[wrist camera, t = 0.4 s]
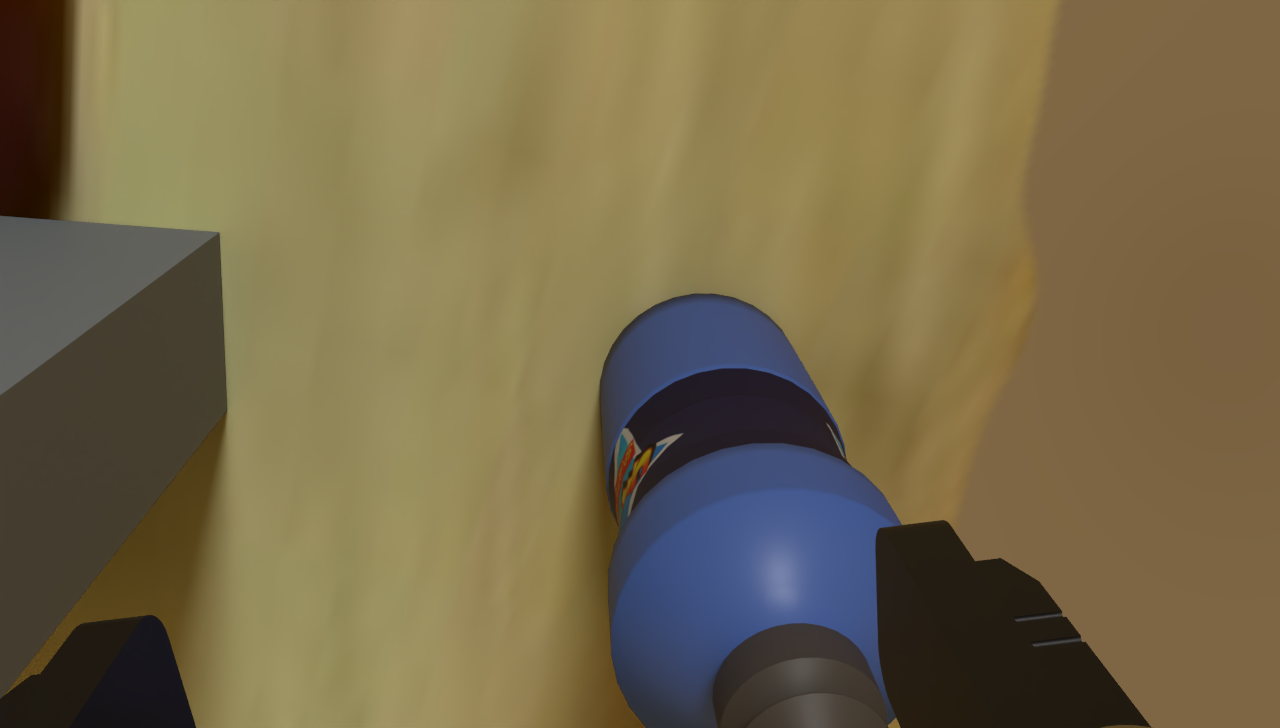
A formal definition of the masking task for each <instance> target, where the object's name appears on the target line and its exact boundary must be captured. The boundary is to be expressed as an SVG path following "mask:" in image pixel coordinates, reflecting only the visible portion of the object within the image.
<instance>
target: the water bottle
mask: <svg viewBox="0 0 1280 728" xmlns="http://www.w3.org/2000/svg"><path fill="white" fill-rule="evenodd" d="M600 405H601V421H602V436H603V452H604V464H605V476H606V488H607V494H608V498H609V503H610V508H611V511H612V514H613V516H614V518H615V520H616V522H617V525H618V527H619V532H618V537H617V540H616V542H615V544H614V548H613V552H612V556H611V561H610V565H609V569H608V603H609V620H610V638H611V655H612V660H613V665H614V669H615V673H616V678H617V682H618V684H619V686H620V689H621V691H622V693H623V695H624V697H625V699H626V701H627V703H628V705H629V707H630V708H631V709H632V711H633V712H634V713H635V714H636V716H637V717H638V718H639V719H640V721H641V722H642V723H643V724H644V726H645V727H646V728H888V726H887V725H888V724H890V723H891V722H892V721H893V720H894V719H895V718H896V716H895V713H894V711H893V709H892V706H891V704H890V701H889V699H888V696H887V693H886V689H885V685H884V681H883V677H882V672H881V666H880V659H879V651H878V627H877V591H876V555H875V542H876V534H877V531H878V529H879V528H883V527H891V526H899V525H902V524H901V522H900V521H899V519H898V517H897V516H896V514H895V512H894V511H893V509H892V508H891V506H890V504H889V503H888V501H887V500H886V498H885V496H884V495H883V493H882V492H881V491H880V490H879V489H878V488H877V487H876V486H875V485H874V484H873V483H872V482H871V481H870V480H869V479H868V478H867V477H866V476H865V475H864V474H862V473H861V472H859V471H858V470H856V469H855V468H853V467H852V466H851V465H850V464H849V463H848V462H847V459H846V454H845V446H844V443H843V440H842V437H841V434H840V431H839V428H838V426H837V424H836V422H835V420H834V418H833V416H832V415H831V413H830V411H829V409H828V408H827V406H826V404H825V402H824V400H823V399H822V397H821V395H820V393H819V392H818V390H817V388H816V386H815V385H814V383H813V381H812V380H811V378H810V376H809V374H808V373H807V371H806V369H805V368H804V366H803V364H802V362H801V361H800V359H799V357H798V356H797V354H796V352H795V350H794V349H793V347H792V345H791V344H790V342H789V340H788V339H787V337H786V336H785V334H784V333H783V331H782V329H781V328H780V327H779V326H778V325H777V324H776V323H775V322H774V321H773V320H772V319H771V318H770V317H769V316H768V315H766V314H765V313H763V312H762V311H760V310H759V309H757V308H756V307H754V306H753V305H751V304H749V303H746V302H744V301H741V300H739V299H736V298H734V297H728V296H723V295H718V294H690V295H685V296H680V297H674V298H672V299H669V300H667V301H664V302H662V303H659V304H656V305H654V306H653V307H651V308H650V309H648V310H646V311H645V312H643V313H642V314H640V315H638V316H637V317H636V318H635V319H634V320H633V321H632V322H631V323H630V324H629V325H628V326H627V327H626V328H624V329H623V331H622V332H621V334H620V335H619V336H618V338H617V339H616V341H615V342H614V343H613V345H612V347H611V349H610V351H609V353H608V356H607V358H606V360H605V362H604V366H603V371H602V375H601V380H600Z"/></svg>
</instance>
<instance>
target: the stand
mask: <svg viewBox="0 0 1280 728" xmlns="http://www.w3.org/2000/svg"><path fill="white" fill-rule="evenodd" d="M226 411H227V398H226V376H225V353H224V330H223V307H222V285H221V262H220V239H219V232H207V231H193V230H180V229H167V228H153V227H140V226H126V225H113V224H100V223H86V222H73V221H60V220H46V219H33V218H19V217H6V216H0V699H1V698H2V697H3V696H4V695H5V693H6V692H7V691H8V689H9V688H10V687H11V686H12V684H13V683H14V682H15V681H16V679H17V678H18V677H19V675H20V674H21V673H22V672H23V670H24V669H25V668H26V667H27V665H28V664H29V663H30V661H31V660H32V659H33V658H34V656H35V655H36V654H37V652H38V651H39V650H40V649H41V647H42V646H43V645H44V644H45V642H46V641H47V640H48V638H49V637H50V636H51V635H52V633H53V632H54V631H55V629H56V628H57V627H58V626H59V624H60V623H61V622H62V621H63V619H64V618H65V617H66V615H67V614H68V613H69V612H70V610H71V609H72V608H73V606H74V605H75V604H76V603H77V601H78V600H79V599H80V598H81V596H82V595H83V594H84V592H85V591H86V590H87V589H88V587H89V586H90V585H91V584H92V582H93V581H94V580H95V578H96V577H97V576H98V575H99V573H100V572H101V571H102V569H103V568H104V567H105V566H106V564H107V563H108V562H109V561H110V559H111V558H112V557H113V555H114V554H115V553H116V552H117V550H118V549H119V548H120V546H121V545H122V544H123V543H124V541H125V540H126V539H127V538H128V536H129V535H130V534H131V532H132V531H133V530H134V529H135V527H136V526H137V525H138V524H139V522H140V521H141V520H142V518H143V517H144V516H145V515H146V513H147V512H148V511H149V509H150V508H151V507H152V506H153V504H154V503H155V502H156V501H157V499H158V498H159V497H160V495H161V494H162V493H163V492H164V490H165V489H166V488H167V486H168V485H169V484H170V483H171V481H172V480H173V479H174V478H175V476H176V475H177V474H178V472H179V471H180V470H181V469H182V467H183V466H184V465H185V464H186V462H187V461H188V460H189V458H190V457H191V456H192V455H193V453H194V452H195V451H196V449H197V448H198V447H199V446H200V444H201V443H202V442H203V441H204V439H205V438H206V437H207V435H208V434H209V433H210V432H211V430H212V429H213V428H214V426H215V425H216V424H217V423H218V421H219V420H220V419H221V418H222V416H223V415H224V414H225V412H226Z"/></svg>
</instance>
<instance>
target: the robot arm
mask: <svg viewBox="0 0 1280 728" xmlns="http://www.w3.org/2000/svg"><path fill="white" fill-rule="evenodd" d="M875 555H876V591H877V627H878V651H879V659H880V666H881V672H882V677H883V681H884V685H885V689H886V693H887V696H888V699H889V701H890V704H891V706H892V709H893V711H894V713H895V716H896V718H897V720H898V722H899V725H900V727H901V728H1152V727H1151V726H1150V725H1149V724H1148V723H1147V721H1146V720H1145V719H1144V717H1143V716H1142V715H1141V713H1140V712H1139V711H1138V710H1137V708H1136V707H1135V706H1134V704H1133V703H1132V702H1131V700H1130V699H1129V698H1128V697H1127V695H1126V694H1125V693H1124V691H1123V690H1122V689H1121V687H1120V686H1119V685H1118V683H1117V682H1116V681H1115V680H1114V678H1113V677H1112V676H1111V674H1110V673H1109V672H1108V671H1107V669H1106V668H1105V667H1104V666H1103V664H1102V663H1101V661H1100V660H1099V659H1098V657H1097V656H1096V655H1095V654H1094V652H1093V651H1092V650H1091V648H1090V647H1089V646H1088V644H1087V643H1086V642H1082V641H1081V636H1080V634H1079V633H1078V631H1076V629H1075V628H1074V626H1073V625H1072V624H1071V622H1070V621H1069V620H1068V619H1067V617H1063V616H1062V611H1061V609H1060V608H1059V607H1058V606H1057V604H1056V603H1055V602H1054V600H1053V599H1052V598H1051V596H1050V595H1049V594H1048V592H1047V591H1046V590H1045V589H1044V587H1043V586H1042V585H1041V583H1040V582H1039V581H1038V580H1036V579H1034V578H1032V577H1031V576H1029V575H1028V574H1026V573H1024V572H1023V571H1021V570H1019V569H1018V568H1016V567H1014V566H1013V565H1011V564H1009V563H1008V562H1006V561H1005V560H1003V559H1001V558H998V559H991V560H982V561H974V559H973V558H972V556H971V555H970V553H969V552H968V550H967V549H966V547H965V546H964V544H963V543H962V541H961V540H960V539H959V537H958V536H957V534H956V533H955V531H954V530H953V528H952V527H951V526H950V524H949V523H948V522H947V521H945V520H940V521H932V522H924V523H916V524H908V525H899V526H891V527H883V528H879V529H878V531H877V534H876V542H875ZM0 728H196V726H195V722H194V719H193V716H192V713H191V709H190V706H189V703H188V700H187V696H186V693H185V690H184V687H183V683H182V680H181V677H180V673H179V670H178V667H177V664H176V660H175V657H174V654H173V651H172V647H171V644H170V641H169V638H168V635H167V632H166V629H165V627H164V625H163V624H162V622H161V621H160V620H159V619H158V618H157V617H155V616H153V615H147V616H138V617H130V618H122V619H114V620H106V621H97V622H89V623H83V624H80V625H79V626H77V627H76V628H75V629H74V630H73V631H72V633H71V634H70V635H69V637H68V638H67V639H66V641H65V642H64V643H63V645H62V646H61V647H60V649H59V650H58V651H57V653H56V654H55V655H54V657H53V658H52V659H51V661H50V662H49V663H48V665H47V666H46V667H45V668H44V670H43V671H42V672H41V674H38V675H31V676H30V677H28V678H27V679H26V680H24V681H23V682H22V683H20V684H19V685H18V686H16V687H15V688H14V689H13V690H11V691H10V692H9V693H7V694H6V695H5V696H3V697H2V698H1V699H0Z"/></svg>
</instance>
